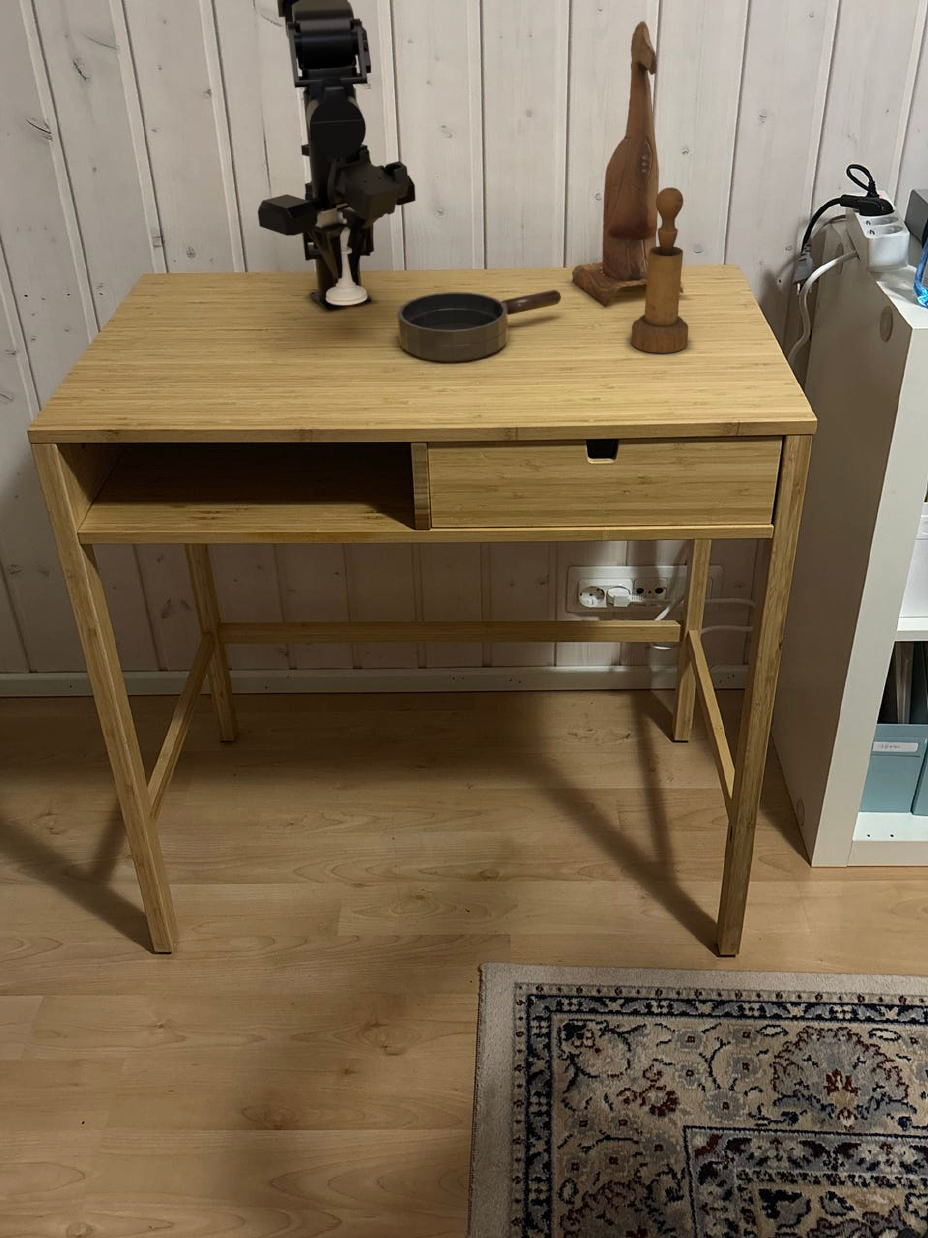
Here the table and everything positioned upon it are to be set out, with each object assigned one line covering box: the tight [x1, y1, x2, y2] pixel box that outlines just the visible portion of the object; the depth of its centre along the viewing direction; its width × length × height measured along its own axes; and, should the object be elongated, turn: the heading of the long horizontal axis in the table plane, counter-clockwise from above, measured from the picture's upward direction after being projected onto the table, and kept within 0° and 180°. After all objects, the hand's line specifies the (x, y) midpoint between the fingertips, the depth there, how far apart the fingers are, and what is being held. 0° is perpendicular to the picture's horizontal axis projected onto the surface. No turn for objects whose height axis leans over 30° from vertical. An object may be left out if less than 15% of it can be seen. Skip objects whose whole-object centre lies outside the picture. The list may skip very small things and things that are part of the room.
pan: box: [397, 291, 509, 363], centre depth 141 cm, size 13×13×4 cm
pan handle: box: [494, 289, 562, 316], centre depth 145 cm, size 9×2×2 cm, turn 118°
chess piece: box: [326, 212, 368, 306], centre depth 137 cm, size 5×5×10 cm
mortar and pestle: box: [630, 187, 689, 354], centre depth 136 cm, size 7×6×18 cm
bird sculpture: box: [571, 20, 684, 305], centre depth 147 cm, size 11×12×32 cm
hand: (345, 275), depth 138 cm, fingers closed on chess piece
